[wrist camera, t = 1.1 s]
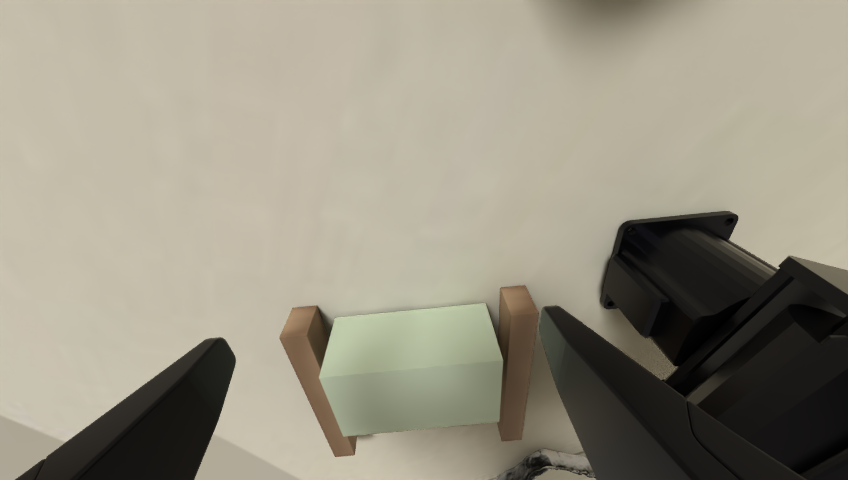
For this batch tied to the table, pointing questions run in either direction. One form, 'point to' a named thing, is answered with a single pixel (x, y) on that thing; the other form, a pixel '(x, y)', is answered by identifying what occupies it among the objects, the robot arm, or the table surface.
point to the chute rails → (515, 341)
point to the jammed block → (413, 370)
